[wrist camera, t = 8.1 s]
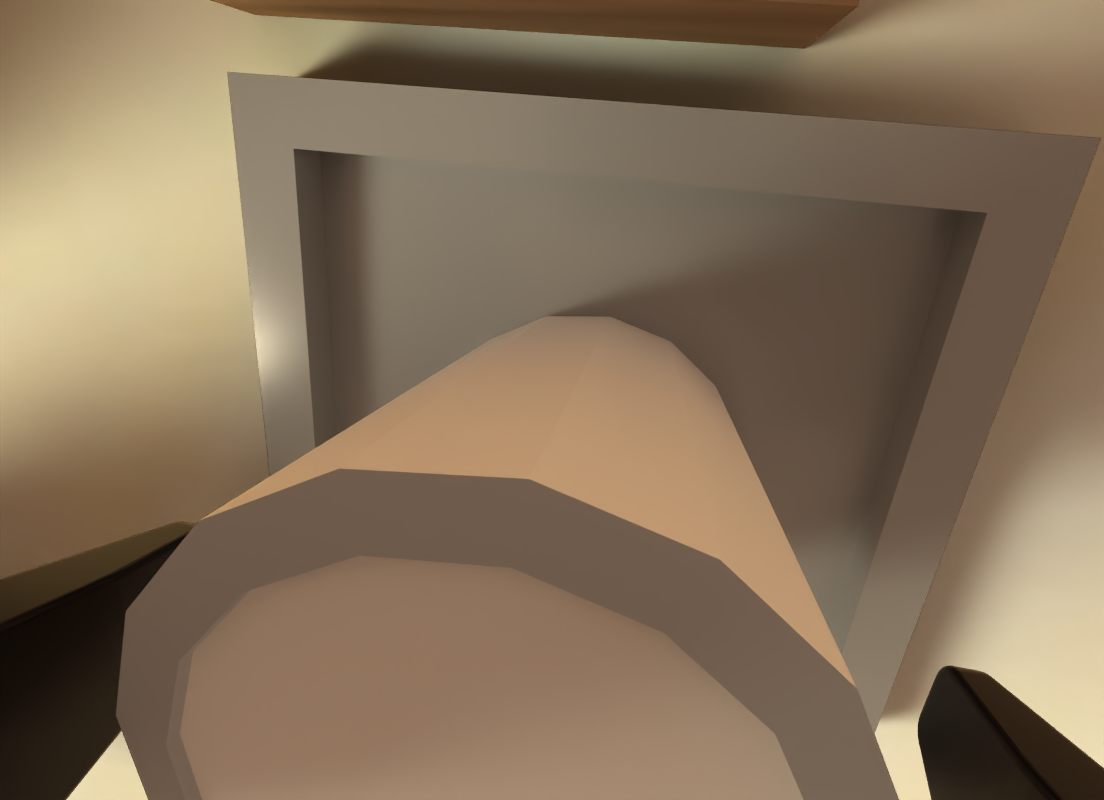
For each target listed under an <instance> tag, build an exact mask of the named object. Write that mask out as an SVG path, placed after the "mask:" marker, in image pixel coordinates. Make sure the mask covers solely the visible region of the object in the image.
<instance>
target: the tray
mask: <svg viewBox="0 0 1104 800" xmlns="http://www.w3.org/2000/svg"><path fill="white" fill-rule="evenodd" d="M227 74H228V83H229V93H230V102H231V112H232V121H233V131H234V140H235V150H236V160H237V169H238V179H239V188H240V198H241V207H242V217H243V226H244V236H245V245H246V255H247V264H248V274H249V284H250V293H251V303H252V312H253V322H254V331H255V341H256V350H257V360H258V369H259V379H260V389H261V398H262V408H263V417H264V427H265V436H266V446H267V455H268V465H269V474H270V476H271V475H273V474H275V473H276V472H278V471H280V470H281V469H283V468H284V467H286V466H288V465H289V464H291V463H292V462H294V461H296V460H297V459H299V458H300V457H302V456H304V455H305V454H307V453H309V452H310V451H312V450H313V449H315V448H317V447H318V446H320V445H321V444H323V443H325V442H326V441H328V440H329V439H331V438H333V437H334V436H336V435H337V434H339V433H341V432H342V431H344V430H346V429H347V428H349V427H350V426H352V425H354V424H355V423H357V422H358V421H360V420H362V419H363V418H365V417H366V416H368V415H370V414H371V413H373V412H374V411H376V410H378V409H379V408H381V407H383V406H384V405H386V404H387V403H389V402H391V401H392V400H394V399H395V398H397V397H399V396H400V395H402V394H403V393H405V392H407V391H408V390H410V389H411V388H413V387H415V386H416V385H418V384H420V383H421V382H423V381H424V380H426V379H428V378H429V377H431V376H432V375H434V374H436V373H437V372H439V371H440V370H442V369H444V368H445V367H447V366H448V365H450V364H452V363H453V362H455V361H457V360H458V359H460V358H461V357H463V356H465V355H466V354H468V353H469V352H471V351H473V350H474V349H476V348H477V347H479V346H481V345H482V344H484V343H485V342H487V341H489V340H490V339H492V338H495V337H497V336H500V335H502V334H504V333H507V332H509V331H512V330H514V329H516V328H519V327H521V326H524V325H526V324H529V323H531V322H533V321H536V320H538V319H541V318H543V317H545V316H604V317H613V318H615V319H617V320H620V321H622V322H625V323H627V324H630V325H632V326H634V327H637V328H639V329H642V330H644V331H647V332H649V333H651V334H654V335H656V336H659V337H661V338H664V339H666V340H668V341H671V342H672V343H673V344H674V345H675V346H676V347H677V348H678V349H679V350H680V351H681V352H682V353H683V354H684V355H685V356H686V357H687V358H688V359H689V360H690V361H691V362H692V363H693V364H694V365H695V366H696V367H697V368H698V369H699V370H700V371H701V372H702V373H703V374H704V375H705V376H706V377H707V378H708V379H709V380H710V381H711V382H712V383H713V384H714V385H715V386H716V388H717V390H718V392H719V394H720V397H721V399H722V401H723V403H724V405H725V407H726V409H727V412H728V414H729V416H730V418H731V420H732V422H733V424H734V427H735V429H736V431H737V433H738V435H739V437H740V439H741V441H742V444H743V446H744V448H745V450H746V452H747V454H748V456H749V459H750V461H751V463H752V465H753V467H754V469H755V471H756V474H757V476H758V478H759V480H760V482H761V484H762V486H763V488H764V491H765V493H766V495H767V497H768V499H769V501H770V503H771V506H772V508H773V510H774V512H775V514H776V516H777V518H778V521H779V523H780V525H781V527H782V529H783V531H784V533H785V535H786V538H787V540H788V542H789V544H790V546H791V548H792V550H793V553H794V555H795V557H796V559H797V561H798V563H799V565H800V568H801V570H802V572H803V574H804V576H805V578H806V580H807V582H808V585H809V587H810V589H811V591H812V593H813V595H814V597H815V600H816V602H817V604H818V606H819V608H820V610H821V612H822V615H823V617H824V619H825V621H826V623H827V625H828V627H829V629H830V632H831V634H832V636H833V638H834V640H835V642H836V644H837V647H838V649H839V651H840V653H841V655H842V657H843V659H844V662H845V664H846V666H847V668H848V670H849V672H850V674H851V676H852V679H853V681H854V683H855V685H856V687H857V689H858V692H859V695H860V697H861V700H862V703H863V705H864V708H865V711H866V713H867V716H868V719H869V721H870V724H871V727H872V729H873V732H874V733H875V731H876V728H877V726H878V723H879V720H880V718H881V715H882V712H883V710H884V707H885V705H886V702H887V699H888V697H889V694H890V691H891V689H892V686H893V684H894V681H895V678H896V676H897V673H898V670H899V668H900V665H901V663H902V660H903V657H904V655H905V652H906V649H907V647H908V644H909V641H910V639H911V636H912V634H913V631H914V628H915V626H916V623H917V620H918V618H919V615H920V613H921V610H922V607H923V605H924V602H925V599H926V597H927V594H928V592H929V589H930V586H931V584H932V581H933V578H934V576H935V573H936V570H937V568H938V565H939V563H940V560H941V557H942V555H943V552H944V549H945V547H946V544H947V542H948V539H949V536H950V534H951V531H952V528H953V526H954V523H955V521H956V518H957V515H958V513H959V510H960V507H961V505H962V502H963V499H964V497H965V494H966V492H967V489H968V486H969V484H970V481H971V478H972V476H973V473H974V471H975V468H976V465H977V463H978V460H979V457H980V455H981V452H982V450H983V447H984V444H985V442H986V439H987V436H988V434H989V431H990V428H991V426H992V423H993V421H994V418H995V415H996V413H997V410H998V407H999V405H1000V402H1001V400H1002V397H1003V394H1004V392H1005V389H1006V386H1007V384H1008V381H1009V379H1010V376H1011V373H1012V371H1013V368H1014V365H1015V363H1016V360H1017V358H1018V355H1019V352H1020V350H1021V347H1022V344H1023V342H1024V339H1025V336H1026V334H1027V331H1028V329H1029V326H1030V323H1031V321H1032V318H1033V315H1034V313H1035V310H1036V308H1037V305H1038V302H1039V300H1040V297H1041V294H1042V292H1043V289H1044V287H1045V284H1046V281H1047V279H1048V276H1049V273H1050V271H1051V268H1052V265H1053V263H1054V260H1055V258H1056V255H1057V252H1058V250H1059V247H1060V244H1061V242H1062V239H1063V237H1064V234H1065V231H1066V229H1067V226H1068V223H1069V221H1070V218H1071V216H1072V213H1073V210H1074V208H1075V205H1076V202H1077V200H1078V197H1079V194H1080V192H1081V189H1082V187H1083V184H1084V181H1085V179H1086V176H1087V173H1088V171H1089V168H1090V166H1091V163H1092V160H1093V158H1094V155H1095V152H1096V150H1097V147H1098V145H1099V142H1100V139H1101V138H1094V137H1081V136H1068V135H1055V134H1041V133H1028V132H1015V131H1002V130H988V129H975V128H962V127H949V126H936V125H922V124H909V123H896V122H883V121H869V120H856V119H843V118H830V117H817V116H803V115H790V114H777V113H764V112H751V111H737V110H724V109H711V108H698V107H684V106H671V105H658V104H645V103H632V102H618V101H605V100H592V99H579V98H565V97H552V96H539V95H526V94H513V93H499V92H486V91H473V90H460V89H446V88H433V87H420V86H407V85H394V84H380V83H367V82H354V81H341V80H327V79H314V78H301V77H288V76H275V75H261V74H248V73H235V72H227Z"/></svg>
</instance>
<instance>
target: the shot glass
mask: <svg viewBox="0 0 1104 800" xmlns="http://www.w3.org/2000/svg"><path fill="white" fill-rule="evenodd" d="M116 717H117V719H118V722H119V725H120V727H121V730H122V732H123V735H124V738H125V740H126V743H127V745H128V748H129V751H130V753H131V756H132V759H133V761H134V764H135V766H136V769H137V772H138V774H139V777H140V779H141V782H142V785H143V787H144V790H145V792H146V795H147V798H148V800H899V799H898V796H897V793H896V791H895V788H894V785H893V783H892V780H891V777H890V775H889V772H888V769H887V767H886V764H885V761H884V759H883V756H882V753H881V751H880V748H879V745H878V743H877V740H876V737H875V735H874V732H873V729H872V727H871V724H870V721H869V719H868V716H867V713H866V711H865V708H864V705H863V703H862V700H861V697H860V695H859V692H858V689H857V687H856V685H855V683H854V681H853V679H852V676H851V674H850V672H849V670H848V668H847V666H846V664H845V662H844V659H843V657H842V655H841V653H840V651H839V649H838V647H837V644H836V642H835V640H834V638H833V636H832V634H831V632H830V629H829V627H828V625H827V623H826V621H825V619H824V617H823V615H822V612H821V610H820V608H819V606H818V604H817V602H816V600H815V597H814V595H813V593H812V591H811V589H810V587H809V585H808V582H807V580H806V578H805V576H804V574H803V572H802V570H801V568H800V565H799V563H798V561H797V559H796V557H795V555H794V553H793V550H792V548H791V546H790V544H789V542H788V540H787V538H786V535H785V533H784V531H783V529H782V527H781V525H780V523H779V521H778V518H777V516H776V514H775V512H774V510H773V508H772V506H771V503H770V501H769V499H768V497H767V495H766V493H765V491H764V488H763V486H762V484H761V482H760V480H759V478H758V476H757V474H756V471H755V469H754V467H753V465H752V463H751V461H750V459H749V456H748V454H747V452H746V450H745V448H744V446H743V444H742V441H741V439H740V437H739V435H738V433H737V431H736V429H735V427H734V424H733V422H732V420H731V418H730V416H729V414H728V412H727V409H726V407H725V405H724V403H723V401H722V399H721V397H720V394H719V392H718V390H717V388H716V386H715V385H714V384H713V383H712V382H711V381H710V380H709V379H708V378H707V377H706V376H705V375H704V374H703V373H702V372H701V371H700V370H699V369H698V368H697V367H696V366H695V365H694V364H693V363H692V362H691V361H690V360H689V359H688V358H687V357H686V356H685V355H684V354H683V353H682V352H681V351H680V350H679V349H678V348H677V347H676V346H675V345H674V344H673V343H672V342H671V341H668V340H666V339H664V338H661V337H659V336H656V335H654V334H651V333H649V332H647V331H644V330H642V329H639V328H637V327H634V326H632V325H630V324H627V323H625V322H622V321H620V320H617V319H615V318H613V317H604V316H545V317H543V318H541V319H538V320H536V321H533V322H531V323H529V324H526V325H524V326H521V327H519V328H516V329H514V330H512V331H509V332H507V333H504V334H502V335H500V336H497V337H495V338H492V339H490V340H489V341H487V342H485V343H484V344H482V345H481V346H479V347H477V348H476V349H474V350H473V351H471V352H469V353H468V354H466V355H465V356H463V357H461V358H460V359H458V360H457V361H455V362H453V363H452V364H450V365H448V366H447V367H445V368H444V369H442V370H440V371H439V372H437V373H436V374H434V375H432V376H431V377H429V378H428V379H426V380H424V381H423V382H421V383H420V384H418V385H416V386H415V387H413V388H411V389H410V390H408V391H407V392H405V393H403V394H402V395H400V396H399V397H397V398H395V399H394V400H392V401H391V402H389V403H387V404H386V405H384V406H383V407H381V408H379V409H378V410H376V411H374V412H373V413H371V414H370V415H368V416H366V417H365V418H363V419H362V420H360V421H358V422H357V423H355V424H354V425H352V426H350V427H349V428H347V429H346V430H344V431H342V432H341V433H339V434H337V435H336V436H334V437H333V438H331V439H329V440H328V441H326V442H325V443H323V444H321V445H320V446H318V447H317V448H315V449H313V450H312V451H310V452H309V453H307V454H305V455H304V456H302V457H300V458H299V459H297V460H296V461H294V462H292V463H291V464H289V465H288V466H286V467H284V468H283V469H281V470H280V471H278V472H276V473H275V474H273V475H271V476H270V477H268V478H267V479H265V480H263V481H262V482H260V483H259V484H257V485H255V486H254V487H252V488H251V489H249V490H247V491H246V492H244V493H243V494H241V495H239V496H238V497H236V498H234V499H233V500H231V501H230V502H228V503H226V504H225V505H223V506H222V507H220V508H218V509H217V510H215V511H214V512H212V513H210V514H209V515H207V516H206V517H204V518H202V519H201V520H199V521H198V522H197V523H196V525H195V526H194V527H193V528H192V530H191V531H190V532H189V533H188V535H187V536H186V537H185V538H184V540H183V541H182V542H181V543H180V545H179V546H178V547H177V548H176V549H175V551H174V552H173V553H172V554H171V556H170V557H169V558H168V559H167V561H166V562H165V563H164V564H163V566H162V567H161V568H160V569H159V571H158V572H157V573H156V574H155V576H154V577H153V578H152V579H151V581H150V582H149V583H148V584H147V585H146V587H145V588H144V589H143V590H142V592H141V593H140V594H139V595H138V597H137V598H136V599H135V600H134V602H133V603H132V604H131V605H130V607H129V608H128V609H127V610H126V615H125V625H124V635H123V646H122V656H121V666H120V677H119V687H118V697H117V707H116Z"/></svg>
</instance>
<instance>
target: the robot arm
mask: <svg viewBox="0 0 1104 800" xmlns="http://www.w3.org/2000/svg"><path fill="white" fill-rule="evenodd" d="M195 525H196V524H194V523H188V522H175V523H172V524H169V525H166V526H162V527H159V528H156V529H153V530H150V531H147V532H144V533H141V534H138V535H135V536H132V537H129V538H125V539H122V540H119V541H116V542H113V543H110V544H107V545H104V546H101V547H98V548H95V549H92V550H89V551H85V552H82V553H79V554H76V555H73V556H70V557H67V558H64V559H61V560H58V561H55V562H52V563H48V564H45V565H42V566H39V567H36V568H33V569H30V570H27V571H24V572H21V573H18V574H15V575H12V576H8V577H5V578H2V579H0V800H66V799H67V798H68V797H69V796H70V794H71V793H72V792H73V791H74V789H75V788H76V787H77V786H78V784H79V783H80V782H81V781H82V779H83V778H84V777H85V776H86V774H87V773H88V772H89V771H90V769H91V768H92V767H93V766H94V764H95V763H96V762H97V761H98V759H99V758H100V757H101V756H102V755H103V753H104V752H105V751H106V750H107V748H108V747H109V746H110V745H111V743H112V742H113V741H114V740H115V738H116V737H117V736H118V735H119V733H120V732H121V731H122V730H121V727H120V725H119V722H118V719H117V717H116V707H117V697H118V687H119V677H120V666H121V656H122V646H123V635H124V625H125V615H126V610H127V609H128V608H129V607H130V605H131V604H132V603H133V602H134V600H135V599H136V598H137V597H138V595H139V594H140V593H141V592H142V590H143V589H144V588H145V587H146V585H147V584H148V583H149V582H150V581H151V579H152V578H153V577H154V576H155V574H156V573H157V572H158V571H159V569H160V568H161V567H162V566H163V564H164V563H165V562H166V561H167V559H168V558H169V557H170V556H171V554H172V553H173V552H174V551H175V549H176V548H177V547H178V546H179V545H180V543H181V542H182V541H183V540H184V538H185V537H186V536H187V535H188V533H189V532H190V531H191V530H192V528H193V527H194V526H195ZM918 739H919V745H920V749H921V754H922V758H923V763H924V768H925V772H926V777H927V781H928V786H929V791H930V795H931V800H1104V768H1103V767H1102V766H1100V765H1099V764H1098V763H1097V762H1095V761H1094V760H1093V759H1092V758H1091V757H1089V756H1088V755H1087V754H1086V753H1084V752H1083V751H1082V750H1081V749H1079V748H1078V747H1077V746H1076V745H1075V744H1073V743H1072V742H1071V741H1070V740H1068V739H1067V738H1066V737H1065V736H1063V735H1062V734H1061V733H1060V732H1059V731H1057V730H1056V729H1055V728H1054V727H1052V726H1051V725H1050V724H1049V723H1048V722H1046V721H1045V720H1044V719H1043V718H1041V717H1040V716H1039V715H1038V714H1036V713H1035V712H1034V711H1033V710H1032V709H1030V708H1029V707H1028V706H1027V705H1025V704H1024V703H1023V702H1022V701H1020V700H1019V699H1018V698H1017V697H1016V696H1014V695H1013V694H1012V693H1011V692H1009V691H1008V690H1007V689H1006V688H1004V687H1003V686H1002V685H1001V684H1000V683H998V682H997V681H996V680H995V679H993V678H992V677H991V676H989V675H988V674H986V673H984V672H981V671H977V670H972V669H966V668H961V667H956V666H945V667H943V668H942V669H941V670H940V671H939V672H938V674H937V676H936V678H935V680H934V683H933V685H932V688H931V690H930V692H929V695H928V697H927V700H926V702H925V705H924V707H923V709H922V712H921V714H920V717H919V722H918Z"/></svg>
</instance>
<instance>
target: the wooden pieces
mask: <svg viewBox="0 0 1104 800" xmlns="http://www.w3.org/2000/svg"><path fill="white" fill-rule="evenodd" d="M211 1H214V2H217V3H221V4H224V5H227V6H230V7H233V8H236V9H239V10H242V11H245V12H248V13H251V14H254V15H267V16H283V17H300V18H316V19H332V20H348V21H365V22H381V23H397V24H414V25H430V26H446V27H462V28H479V29H495V30H511V31H528V32H544V33H560V34H576V35H593V36H609V37H625V38H642V39H658V40H674V41H690V42H707V43H723V44H739V45H756V46H772V47H788V48H806V47H808V46H809V45H810V44H811V43H813V42H814V41H815V40H816V39H818V38H819V37H820V36H821V35H823V34H824V33H825V32H826V31H828V30H829V29H830V28H831V27H833V26H834V25H835V24H836V23H838V22H839V21H840V20H841V19H843V18H844V17H845V16H846V15H848V14H849V13H850V12H851V11H853V10H854V9H855V8H856V7H858V4H859V0H211Z"/></svg>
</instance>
